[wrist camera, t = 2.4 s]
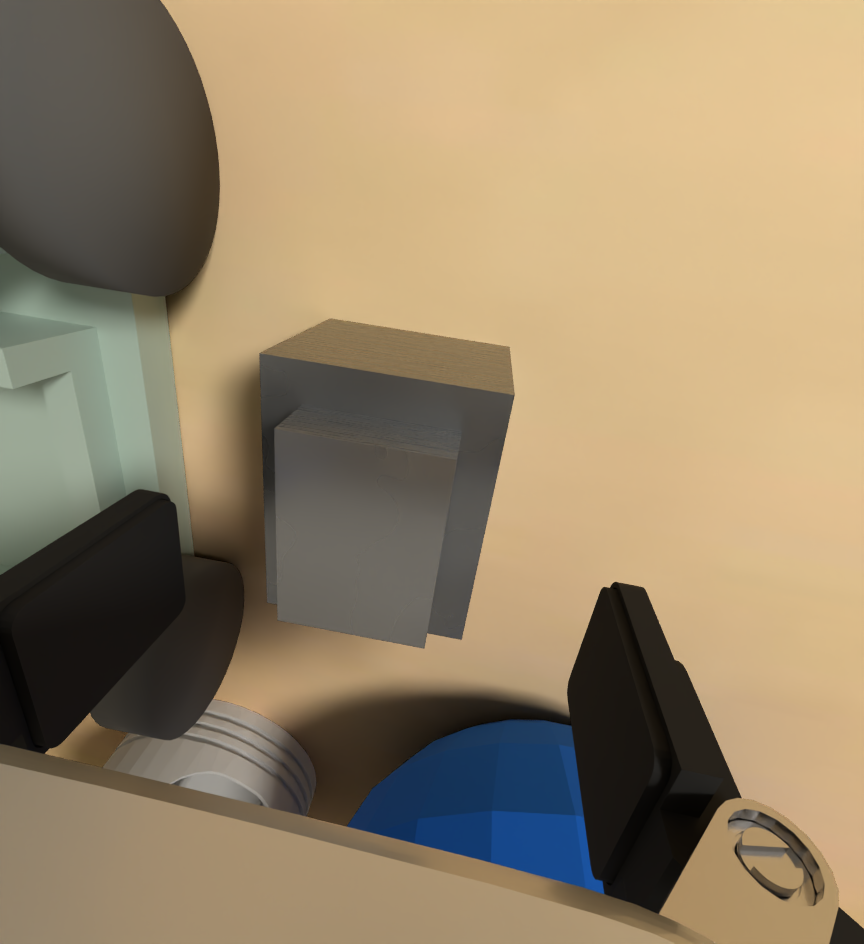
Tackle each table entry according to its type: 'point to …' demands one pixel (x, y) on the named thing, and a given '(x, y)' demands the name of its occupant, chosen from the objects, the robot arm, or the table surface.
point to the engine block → (379, 476)
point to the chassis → (105, 308)
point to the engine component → (226, 759)
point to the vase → (491, 800)
